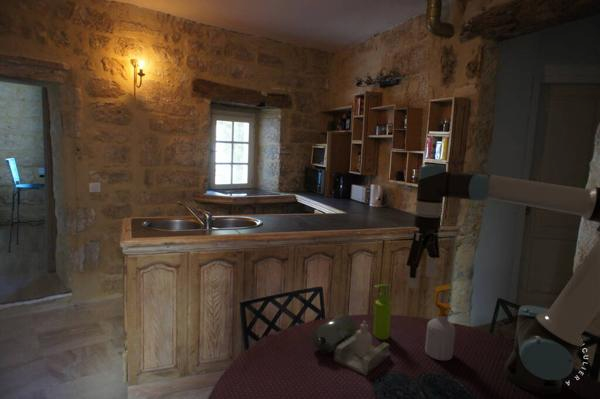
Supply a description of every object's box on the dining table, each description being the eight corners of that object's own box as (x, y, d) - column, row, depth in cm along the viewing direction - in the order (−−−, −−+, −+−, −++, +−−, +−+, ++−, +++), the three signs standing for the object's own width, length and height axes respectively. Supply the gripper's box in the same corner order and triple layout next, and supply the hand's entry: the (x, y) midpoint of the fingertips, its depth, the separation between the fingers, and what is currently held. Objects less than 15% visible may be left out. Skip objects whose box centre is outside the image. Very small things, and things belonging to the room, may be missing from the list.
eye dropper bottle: (366, 349, 127) (367, 316, 125) (372, 359, 121) (374, 324, 119) (353, 351, 126) (355, 317, 124) (359, 360, 120) (361, 325, 119)
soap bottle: (455, 363, 123) (462, 292, 120) (426, 358, 125) (433, 289, 122) (449, 349, 132) (456, 283, 129) (423, 345, 134) (429, 280, 130)
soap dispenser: (367, 332, 141) (371, 282, 138) (383, 330, 143) (387, 281, 140) (375, 340, 136) (379, 288, 133) (391, 338, 138) (396, 286, 135)
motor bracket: (389, 355, 126) (391, 330, 125) (362, 378, 112) (364, 351, 111) (336, 332, 140) (337, 310, 139) (306, 351, 126) (307, 326, 125)
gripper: (430, 209, 125) (425, 270, 128) (398, 217, 106) (392, 289, 109) (453, 212, 120) (447, 275, 123) (424, 222, 101) (417, 296, 104)
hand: (421, 282), depth 116 cm, fingers open, 13 cm apart
